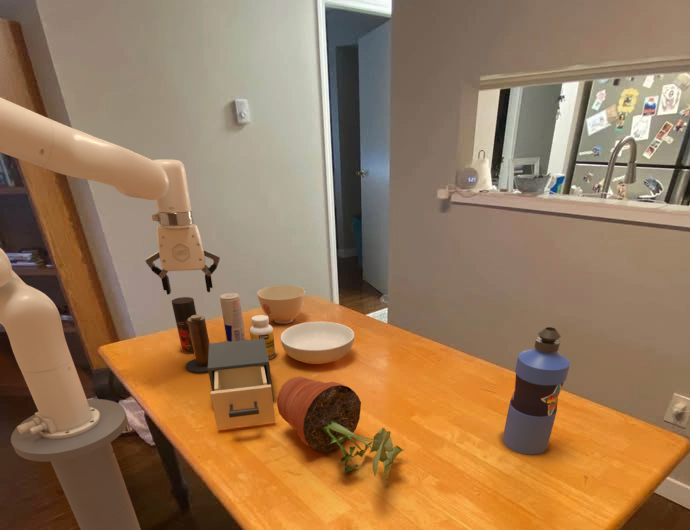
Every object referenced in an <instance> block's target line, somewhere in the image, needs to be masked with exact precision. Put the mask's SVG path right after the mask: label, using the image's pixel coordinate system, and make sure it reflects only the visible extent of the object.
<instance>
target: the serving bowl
mask: <svg viewBox="0 0 690 530" xmlns="http://www.w3.org/2000/svg"><path fill="white" fill-rule="evenodd" d="M280 342H281V343H280V344H281V346H282V348H283V351H284V352H285V353H286V354H287V355H288V356H289V357H290V358H291V359H294V360H296V361H298V362H301V363H305V364H311V365H322V364H328V363H333V362H336V361H338V360H340V359H342V358H343V357H345V356H347V354H348V353H349V352H350V351H351V349H352V348H353V345H354V342H355V331H354V330H353V329H352V328H351V327H349V326H347V325H345V324H343V323H338V322H333V321H323V320H322V321H320V320H319V321H306V322H301V323H298V324H294V325H292V326H289V327H287V328H286V329H285V330H283V331H282V332H281V334H280Z"/></svg>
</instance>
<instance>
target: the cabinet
mask: <svg viewBox="0 0 690 530" xmlns="http://www.w3.org/2000/svg"><path fill="white" fill-rule="evenodd" d="M263 365H264V369H265V375H266V380H267V385H270V384H271V389H272V397H273V398H274V391H273V384H272V375H271V365H270V359H269V358H268V354H267V349H266V345H265V340H264V338H263V339H252V340H251V339H246V340H241V341H231V342H227V341H221V342H211V343H210V342H209V354H208V372H209V373H208V377H209V384H210V387H211V391H215V390H214V378H215V371H216V370H225V369H234V368H244V367H253V366H263ZM273 403H274V399H273Z"/></svg>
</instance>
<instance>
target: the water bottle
mask: <svg viewBox="0 0 690 530" xmlns="http://www.w3.org/2000/svg"><path fill="white" fill-rule="evenodd" d="M537 335H538V337H536V339H535V343H534V348H533V349H532V348H531V349H526V350H522V351H521V352H519V354H517V359H516V363H515V369H514V372H515V381H514V390H513V393H512V395H511V398H510V401H509V405H508V410H507V414H506V418H505V425H504V429H503V435H502V442H503V444H504V445H505V446H506V447H507V448H508V449H510V450H512V451H513V452H516V453H518V454H522V455H530V456H532V455H533V456H534V455H540V454H542V453H544V452H545V451H547V449H548V446H549V443H550V438H551V435H552V431H553V427H554V425H555V424H554V423H555V419H556V416H557V412H558V402H559V401H558V400H559V395H560V393H561V391H562V388H563V386H564V383H565V382H566V380H567V379H568V378H567V377H568V374H569V370H570V366H571V361H570V359H569V358H568V357H566V356H564V355H563V354H561V353H559V352H558V351H559V349H560V345H561V341H560V340H559V339H560V338H561V334H560V333H559V331H558V330H557V329H556V328H555V327H551V326H548V327H545V328H543V329H542V330H540V331H539V332H538V333H537Z"/></svg>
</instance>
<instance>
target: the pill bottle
mask: <svg viewBox="0 0 690 530" xmlns="http://www.w3.org/2000/svg"><path fill="white" fill-rule="evenodd" d="M269 318H270V317H269V316H267V315H266V314H258V315H253V316H252V317H251V324H252V325H251V326H250V327H249V336H250V340H252V339H263V338H264V340H265V345H266V349H267V354H268V358H269V360H271V359H273V358H274V357H275V356H276V346H275V335H274V328H273V326H272V325H271V324H269V323H270V320H269Z"/></svg>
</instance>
